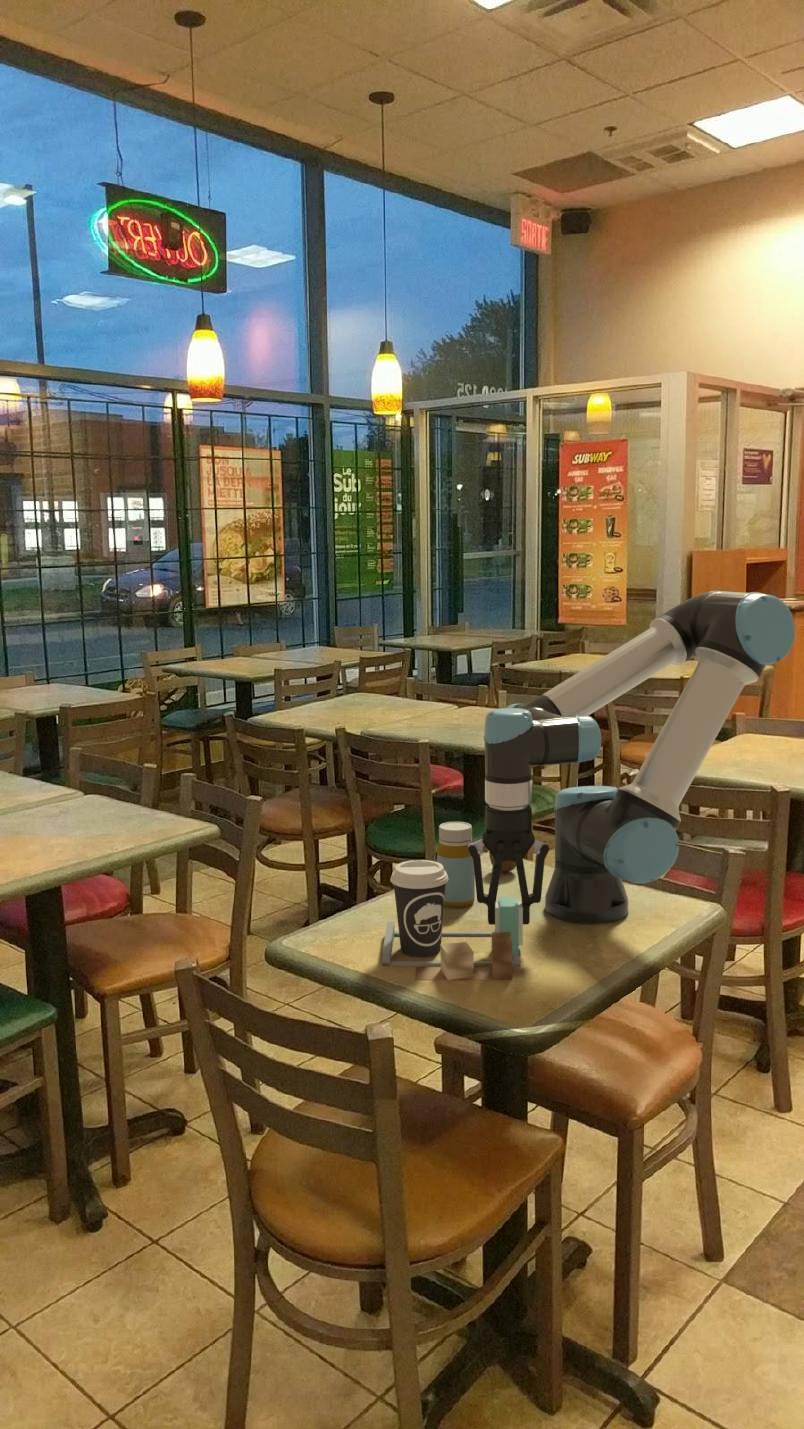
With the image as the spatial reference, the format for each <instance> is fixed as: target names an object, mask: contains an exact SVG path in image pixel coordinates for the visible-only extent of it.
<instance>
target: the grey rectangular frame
mask: <svg viewBox="0 0 804 1429" xmlns="http://www.w3.org/2000/svg"><path fill="white" fill-rule="evenodd" d="M498 902H499V906H500V932H511V937H512V967H521V960H520V956H519V954H520V952H519V947H520V946H519V906H518V902H519V901H518V897H517V896H516V897H513V896H511V897H505V896H504V897H500V896H499V897H498ZM492 932H493V931H442V937H492ZM395 937H399V931H395V921H387V922H386V928H385V934H384V938H383V939H384V941H383V946H382V951H381V954H382V956H381V957H382V958H381V960H382V961H381V962H382V963H381V964H382V967H441V960H439V961H437V960H435V961H434V960H432V961H431V960H430V961H429V960H426V961H425V960H423V961H422V960H421V961H420V960H419V961H418V960H417V961H416V960H414V961H413V960H405V961H404V960H402V961H401V960H400V961H398V960H392V955H393V948H394V940H395ZM474 967H492V960H490V961H487V960H486V961H484V960H482V961H480V960H479V961H478V960H474Z"/></svg>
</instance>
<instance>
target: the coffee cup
mask: <svg viewBox="0 0 804 1429" xmlns="http://www.w3.org/2000/svg"><path fill="white" fill-rule="evenodd" d="M448 880H449V878H448V875H447V873H446V871H445V870H444V867H443V865H442V864H440V863H438V862H437V861H434V860H427V859H416V860H415V859H413V860H406V861H402V862H400V863H398V864H396V865H395V867H394V871H392V874H391V876H390V883H392V884H393V891H394V899H395V906H396V918H397V925H398V927H397V928H398V932H399V936H398V937H399V945H400V951H401V953H402V954H403V955H404V956H408V957H411V958H412V957H413V958H428V957H433V956H436V955H437V954H439V953H441V945H440V944H442V937H443V936H442V932H443V923H444V922H443V921H444V920H443V919H444V910H445V909H444V907H445V906H444V896H445V884H446V883H447V882H448Z"/></svg>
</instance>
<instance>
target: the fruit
mask: <svg viewBox="0 0 804 1429" xmlns="http://www.w3.org/2000/svg"><path fill="white" fill-rule="evenodd" d="M488 853H489V854H488V856H489V860H490V863H491V865H492V866H493V859H494V857H493V856H492V854H491V853H490V852H488ZM515 868H517V867H516V862H513V861H509V860H508V861H504V862H502V867H501V872H500V874H507V873H510V872H511V871H513V870H515Z"/></svg>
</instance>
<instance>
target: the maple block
mask: <svg viewBox="0 0 804 1429" xmlns="http://www.w3.org/2000/svg"><path fill="white" fill-rule="evenodd" d="M440 945H441V950H440V961H441V966H440V967H441V971H442V972H443V974H444V975H445V977H446V978H447V980H446V981H454V980H453V979H462V978H471V977H474V967H475V966H474V961H475V959H474V950H473V948H472V947H471V946H470V945H469V943H468V942H467V941H460V942H449V943H448V942H447V943H441V944H440Z"/></svg>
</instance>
